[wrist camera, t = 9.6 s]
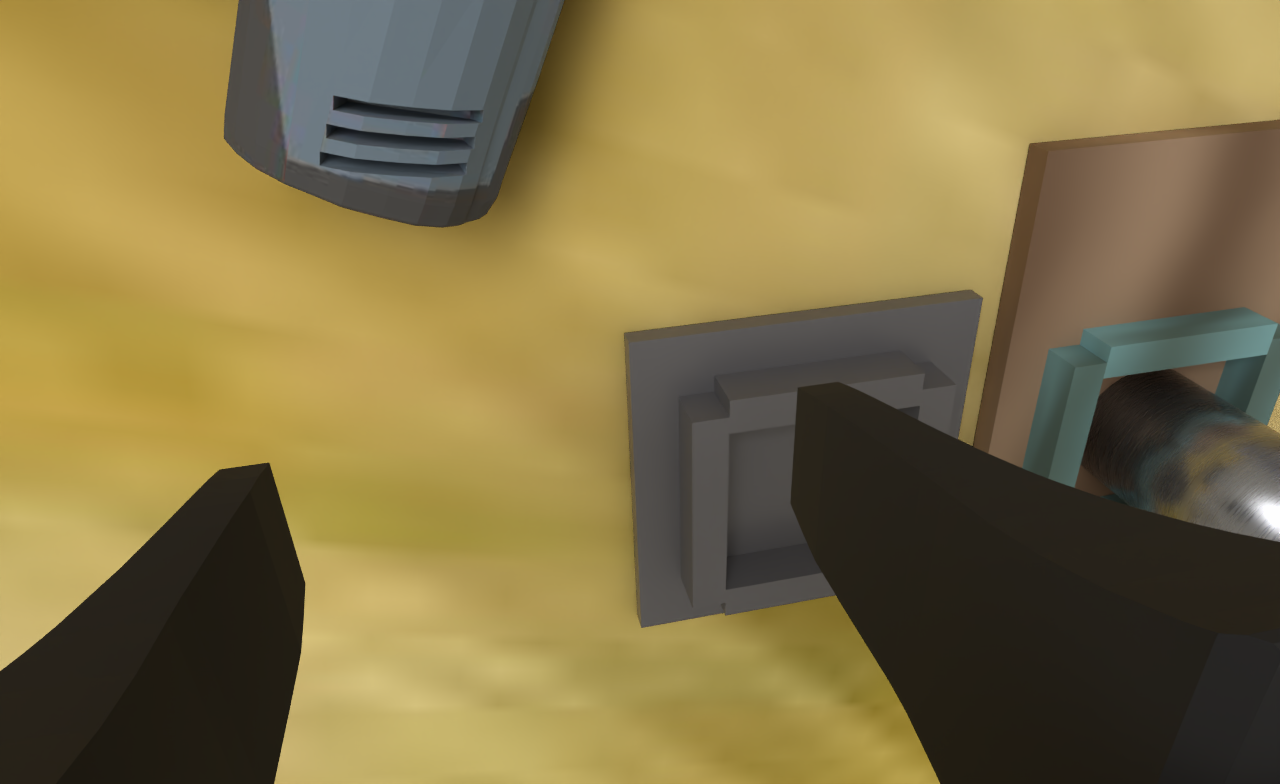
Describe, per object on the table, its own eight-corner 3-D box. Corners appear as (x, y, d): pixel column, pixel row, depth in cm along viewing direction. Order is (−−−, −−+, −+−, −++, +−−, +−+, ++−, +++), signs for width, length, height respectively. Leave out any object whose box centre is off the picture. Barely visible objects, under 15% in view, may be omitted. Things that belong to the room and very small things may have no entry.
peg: (1178, 343, 26) (1405, 471, 20) (1201, 431, 28) (1413, 572, 22) (1061, 415, 26) (1251, 563, 20) (1093, 498, 28) (1273, 654, 22)
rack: (1350, 113, 24) (1420, 128, 23) (1175, 595, 33) (1216, 632, 32) (1029, 143, 23) (1079, 163, 21) (936, 642, 32) (965, 684, 30)
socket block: (971, 289, 24) (1012, 318, 23) (925, 562, 29) (955, 603, 28) (624, 333, 23) (640, 367, 21) (637, 614, 28) (651, 660, 26)
